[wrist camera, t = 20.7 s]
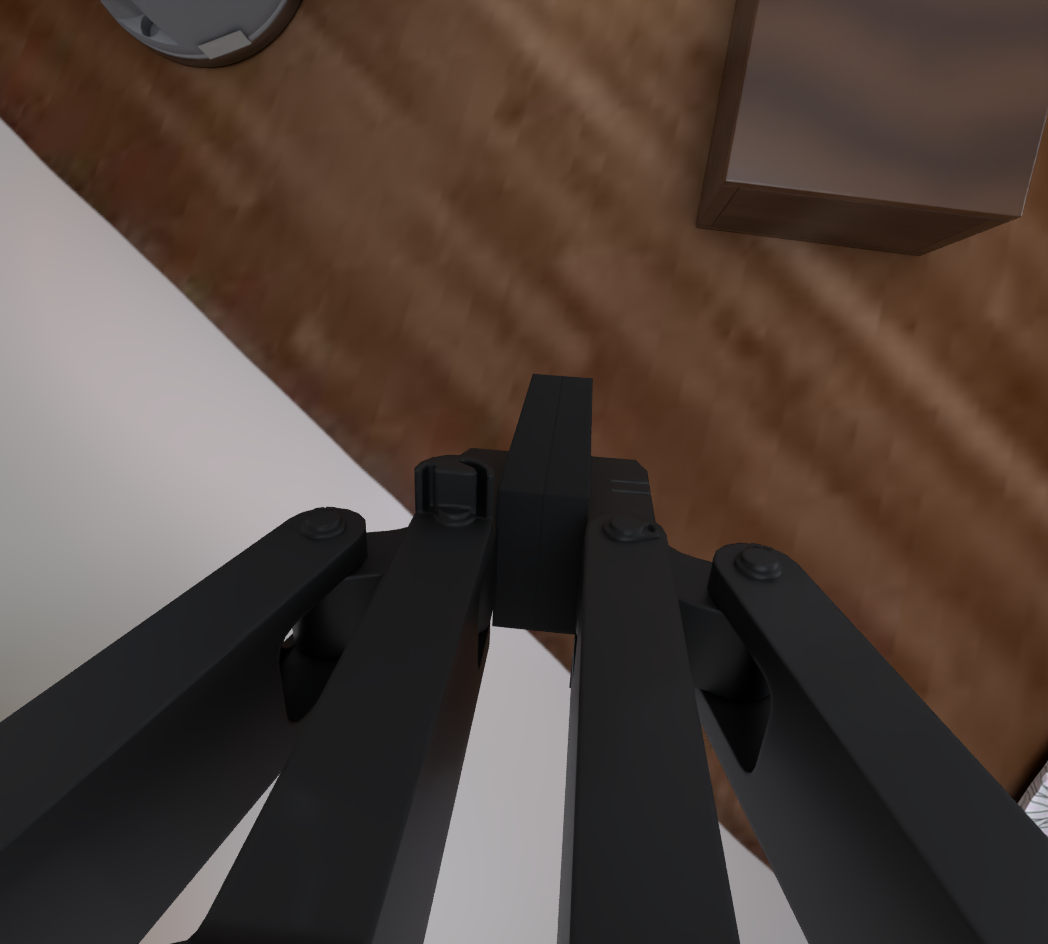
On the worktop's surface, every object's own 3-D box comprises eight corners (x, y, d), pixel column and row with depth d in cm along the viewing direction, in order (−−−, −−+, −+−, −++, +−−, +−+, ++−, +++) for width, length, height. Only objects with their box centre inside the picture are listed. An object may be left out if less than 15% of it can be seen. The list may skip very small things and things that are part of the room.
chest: (745, -53, 41) (788, -180, 31) (986, -32, 39) (1106, -158, 30) (695, 227, 43) (721, 186, 34) (920, 256, 42) (1011, 221, 33)
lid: (792, -200, 31) (797, -215, 31) (1111, -178, 30) (1125, -193, 29) (721, 186, 34) (724, 181, 33) (1011, 221, 33) (1022, 217, 32)
